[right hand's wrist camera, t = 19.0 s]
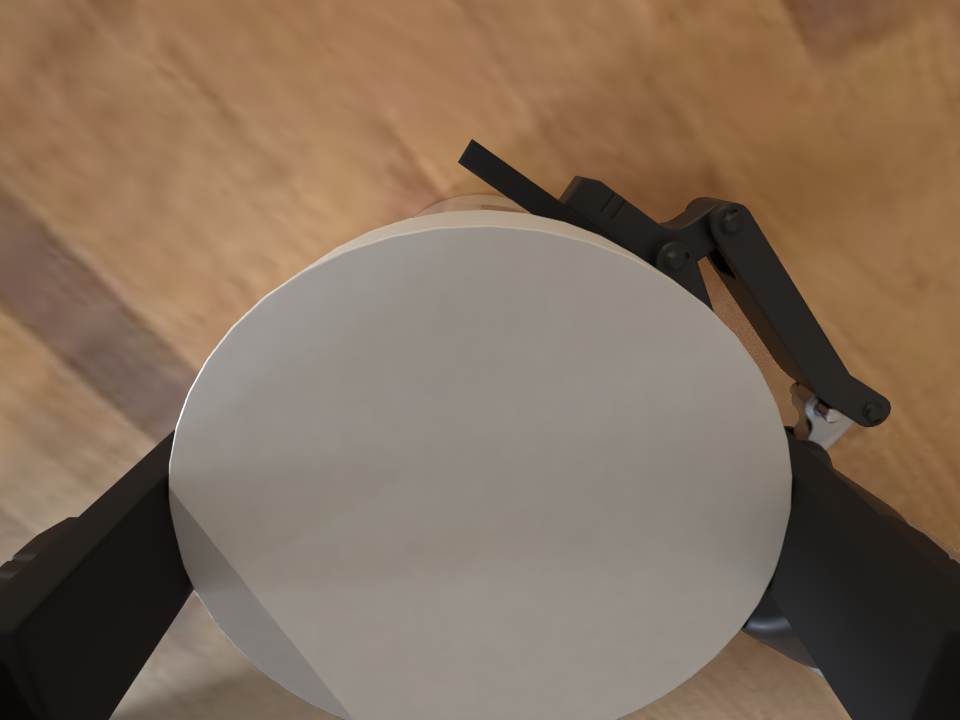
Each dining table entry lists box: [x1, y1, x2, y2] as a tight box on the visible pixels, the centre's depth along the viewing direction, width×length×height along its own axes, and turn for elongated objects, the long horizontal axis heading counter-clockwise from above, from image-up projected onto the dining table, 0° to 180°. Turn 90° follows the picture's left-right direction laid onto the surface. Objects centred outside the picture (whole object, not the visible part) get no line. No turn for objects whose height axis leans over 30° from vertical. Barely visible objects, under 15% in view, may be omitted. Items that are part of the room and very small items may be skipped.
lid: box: [169, 210, 792, 720], centre depth 11 cm, size 12×12×2 cm
